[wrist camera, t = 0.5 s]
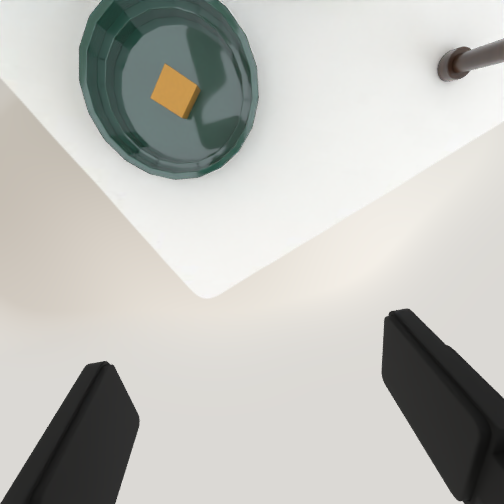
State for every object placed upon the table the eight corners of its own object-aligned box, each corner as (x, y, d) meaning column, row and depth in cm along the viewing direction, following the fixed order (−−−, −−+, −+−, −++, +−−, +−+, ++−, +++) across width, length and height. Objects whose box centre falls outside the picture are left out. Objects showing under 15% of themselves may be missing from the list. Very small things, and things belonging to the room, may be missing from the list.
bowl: (139, -41, 28) (118, -79, 22) (281, 69, 32) (291, 57, 27) (82, 123, 33) (55, 121, 28) (211, 196, 38) (208, 206, 32)
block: (171, 70, 31) (164, 63, 27) (200, 90, 32) (197, 85, 28) (158, 101, 32) (150, 97, 29) (186, 119, 33) (181, 118, 30)
